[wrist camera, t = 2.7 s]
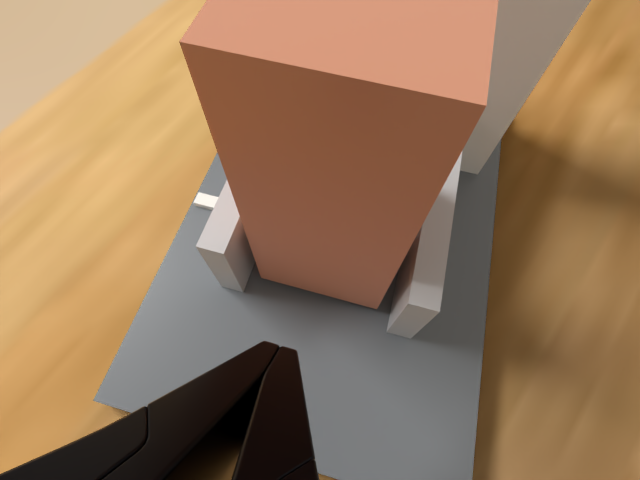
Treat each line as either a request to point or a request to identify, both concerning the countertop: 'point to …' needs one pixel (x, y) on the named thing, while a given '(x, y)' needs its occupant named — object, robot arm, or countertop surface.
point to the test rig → (349, 318)
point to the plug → (339, 125)
